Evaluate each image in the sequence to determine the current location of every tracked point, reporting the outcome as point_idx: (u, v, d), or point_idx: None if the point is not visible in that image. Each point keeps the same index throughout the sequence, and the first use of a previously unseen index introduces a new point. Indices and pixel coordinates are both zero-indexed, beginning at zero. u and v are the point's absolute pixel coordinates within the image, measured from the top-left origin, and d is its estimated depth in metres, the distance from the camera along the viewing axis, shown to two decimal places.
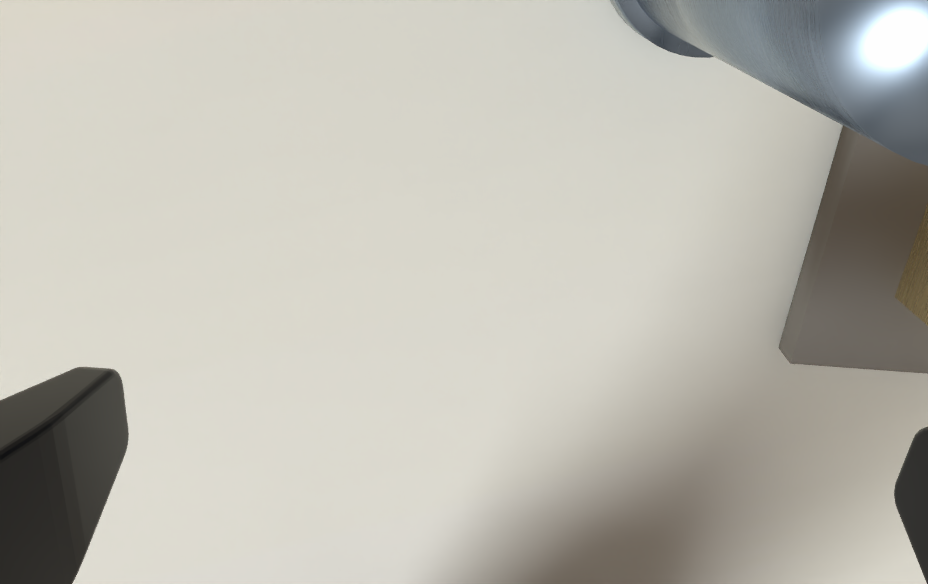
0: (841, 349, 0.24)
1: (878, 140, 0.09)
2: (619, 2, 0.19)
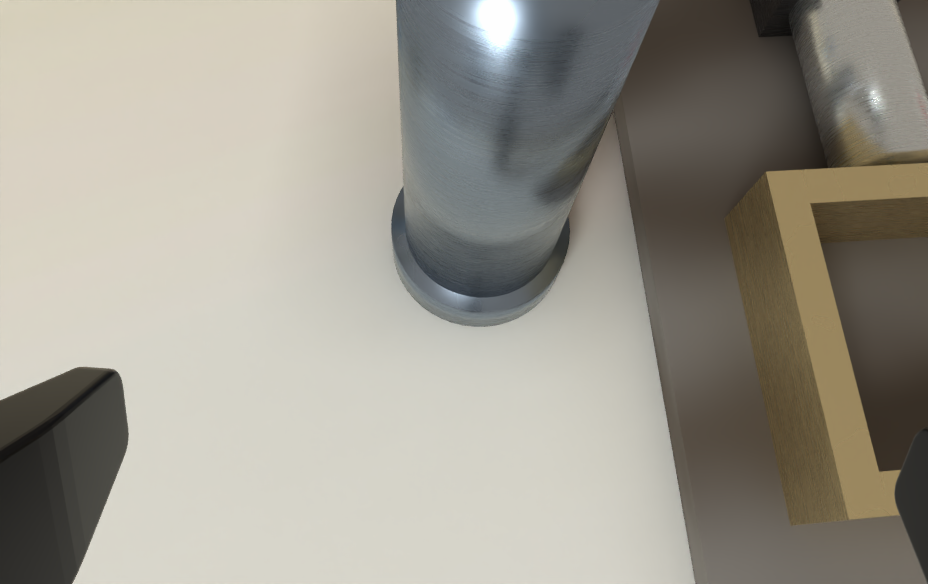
0: None
1: (481, 23, 0.11)
2: (411, 277, 0.22)
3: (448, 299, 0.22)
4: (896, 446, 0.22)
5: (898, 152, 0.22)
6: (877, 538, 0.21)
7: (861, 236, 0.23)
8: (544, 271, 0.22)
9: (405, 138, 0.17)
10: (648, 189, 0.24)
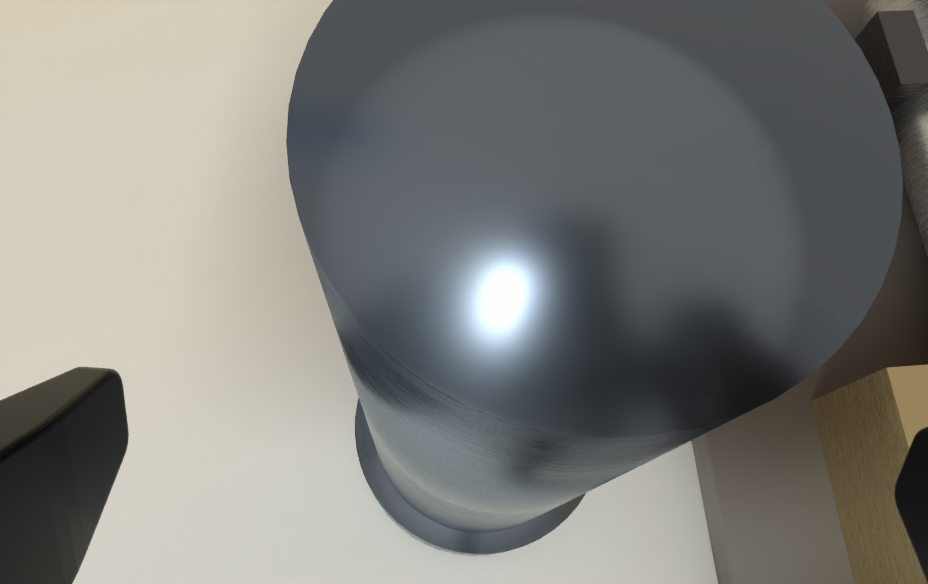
0: None
1: (478, 404, 0.05)
2: (381, 503, 0.16)
3: (433, 537, 0.15)
4: None
5: None
6: None
7: None
8: None
9: None
10: None
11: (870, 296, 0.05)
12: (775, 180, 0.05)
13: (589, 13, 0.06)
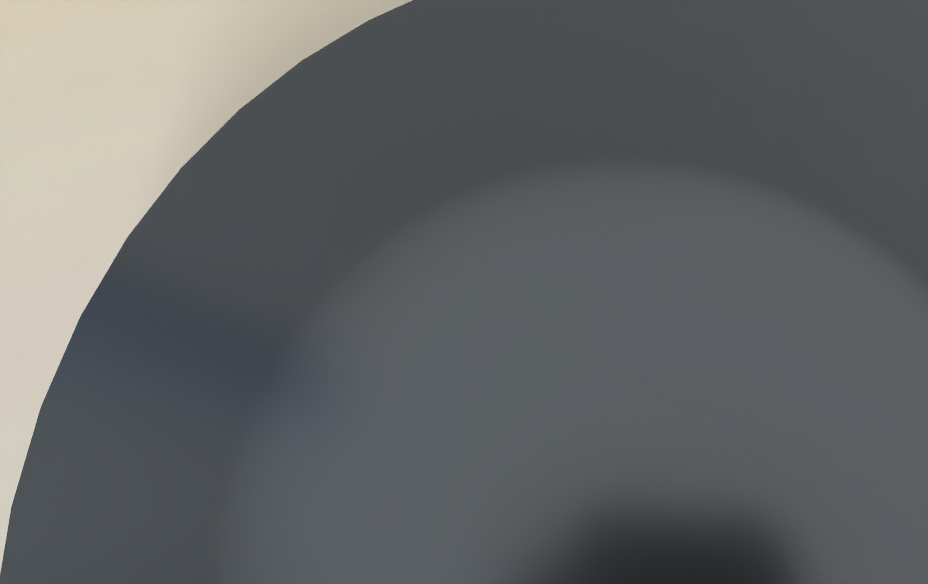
0: None
1: None
2: None
3: None
4: None
5: None
6: None
7: None
8: None
9: None
10: None
11: None
12: None
13: (731, 229, 0.03)
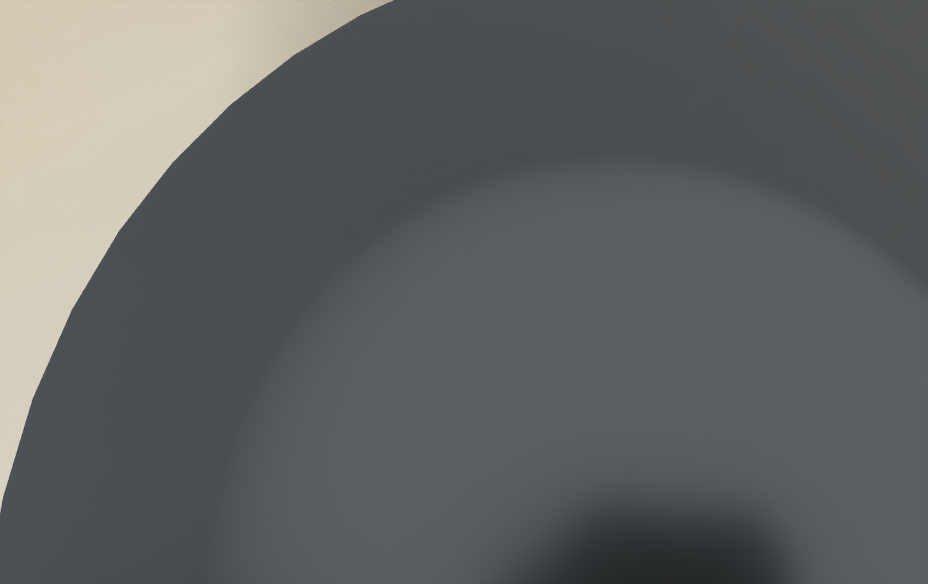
0: None
1: None
2: None
3: None
4: None
5: None
6: None
7: None
8: None
9: None
10: None
11: None
12: None
13: (720, 224, 0.03)
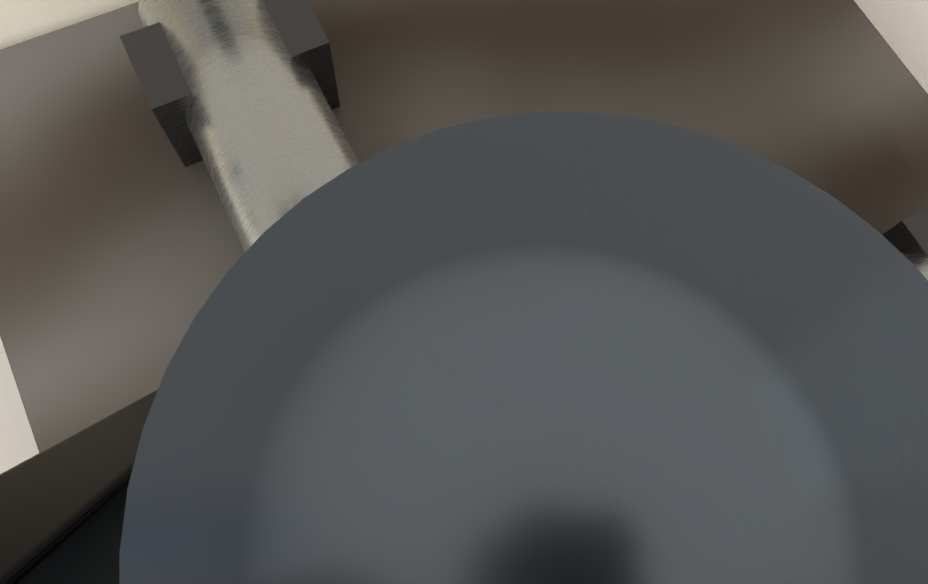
0: None
1: None
2: None
3: None
4: None
5: None
6: None
7: None
8: None
9: None
10: None
11: None
12: None
13: (585, 309, 0.04)
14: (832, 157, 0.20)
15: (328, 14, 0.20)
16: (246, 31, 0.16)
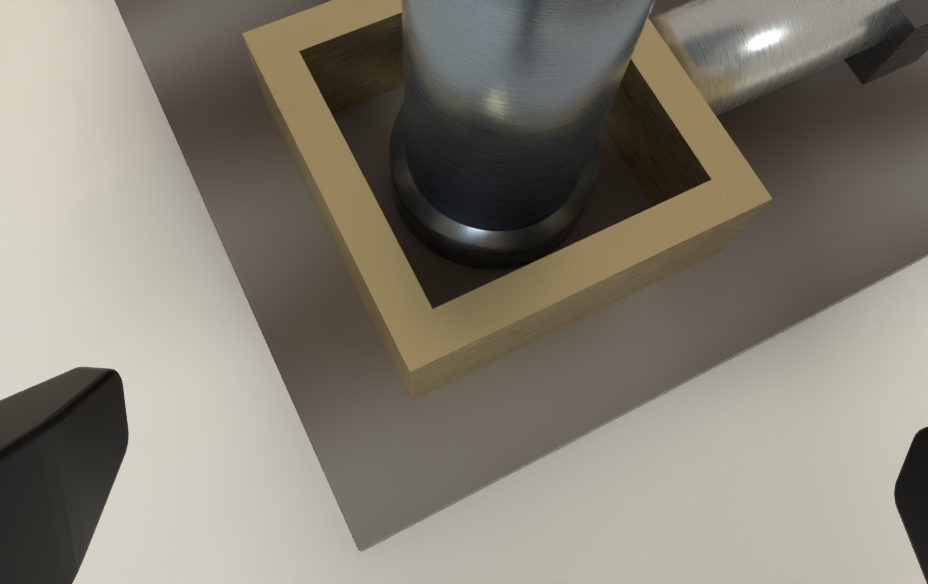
0: (405, 495, 0.18)
1: None
2: (412, 208, 0.19)
3: (457, 233, 0.18)
4: None
5: None
6: (506, 378, 0.19)
7: None
8: (570, 201, 0.19)
9: (406, 3, 0.13)
10: (173, 102, 0.21)
11: None
12: None
13: None
14: None
15: None
16: None
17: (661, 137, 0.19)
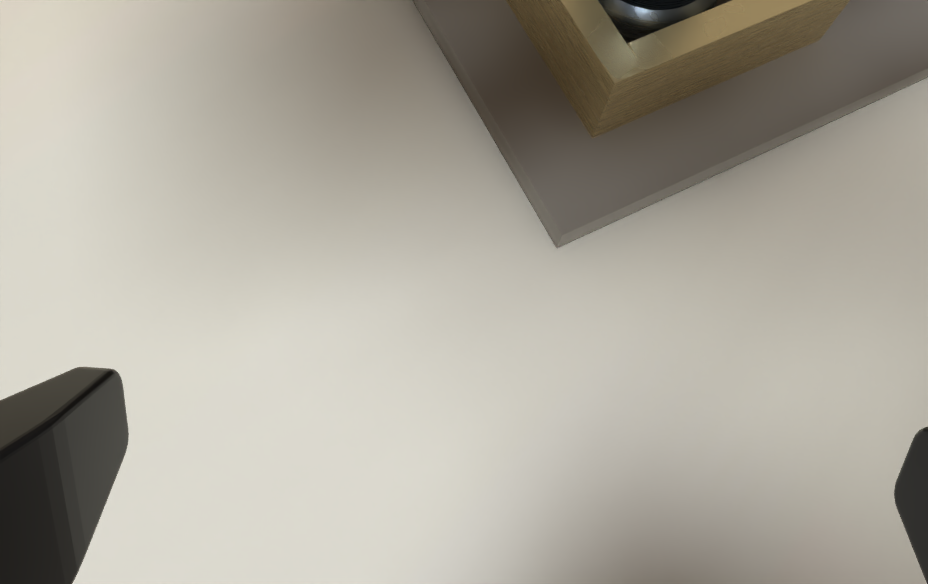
0: (593, 200, 0.24)
1: None
2: None
3: (627, 10, 0.24)
4: None
5: None
6: (661, 124, 0.25)
7: None
8: None
9: None
10: None
11: None
12: None
13: None
14: None
15: None
16: None
17: None
